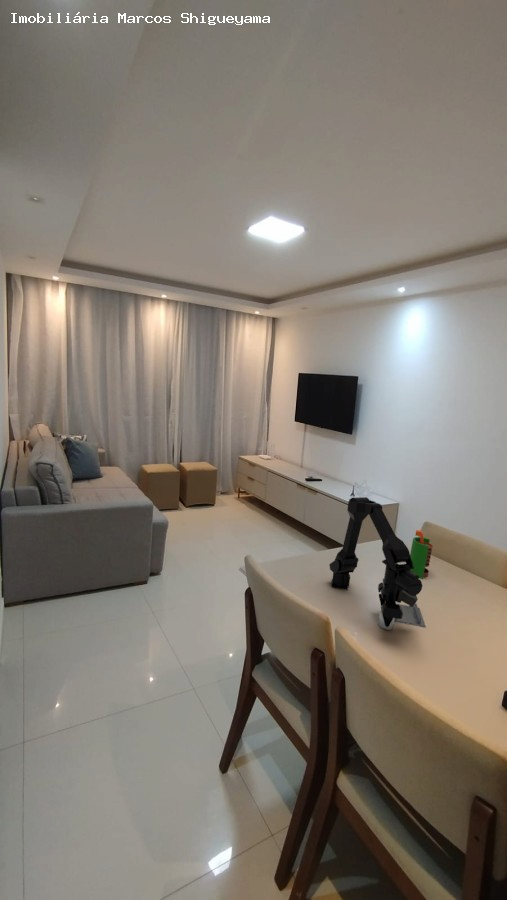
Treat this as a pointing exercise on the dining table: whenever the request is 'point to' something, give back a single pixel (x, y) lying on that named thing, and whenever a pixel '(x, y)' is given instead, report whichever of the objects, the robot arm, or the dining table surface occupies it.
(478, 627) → the dining table surface
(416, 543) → the motor
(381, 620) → the grey capped cylinder
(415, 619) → the cradle
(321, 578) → the dining table surface
